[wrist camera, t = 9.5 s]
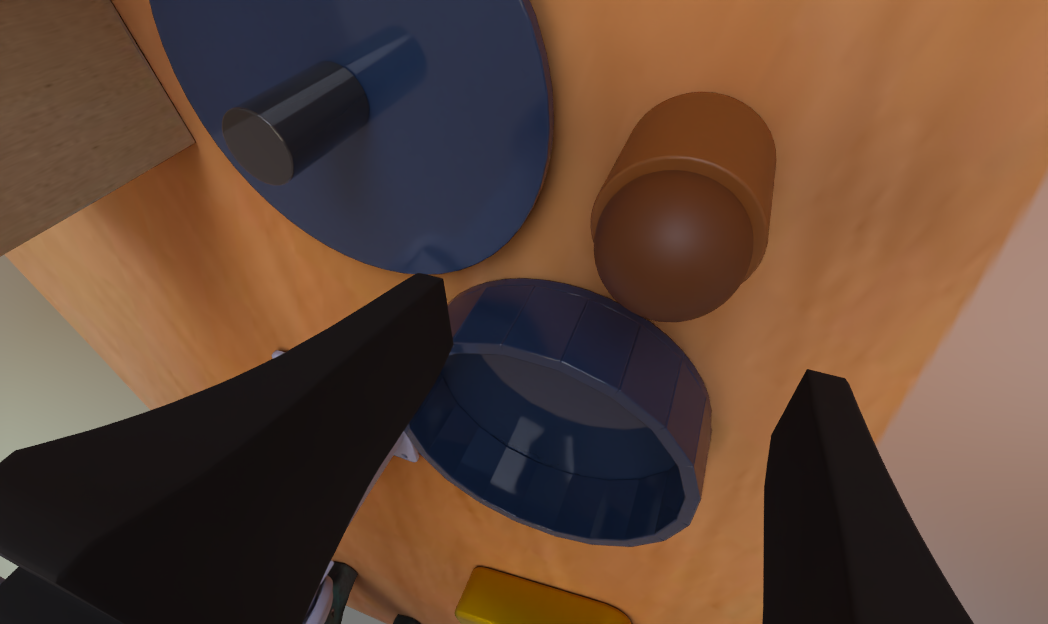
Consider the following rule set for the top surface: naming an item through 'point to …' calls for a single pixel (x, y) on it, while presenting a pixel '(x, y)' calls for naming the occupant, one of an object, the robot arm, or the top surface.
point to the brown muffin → (685, 207)
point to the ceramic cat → (341, 590)
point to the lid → (375, 117)
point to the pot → (567, 414)
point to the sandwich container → (73, 112)
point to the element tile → (527, 603)
